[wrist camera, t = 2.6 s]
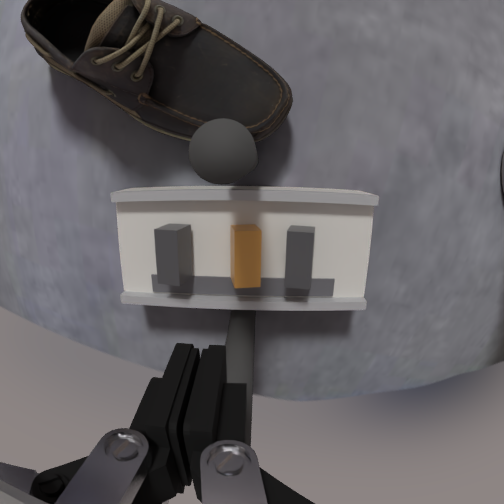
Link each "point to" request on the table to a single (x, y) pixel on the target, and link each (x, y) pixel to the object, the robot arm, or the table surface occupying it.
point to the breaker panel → (272, 245)
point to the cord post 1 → (222, 151)
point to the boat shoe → (158, 64)
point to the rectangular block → (245, 255)
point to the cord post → (241, 356)
